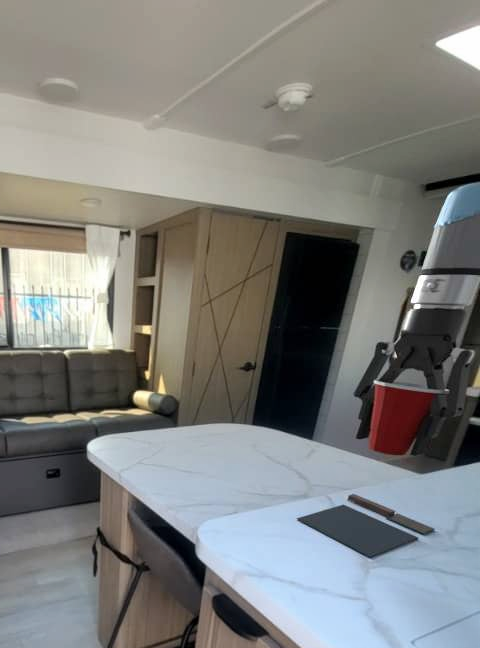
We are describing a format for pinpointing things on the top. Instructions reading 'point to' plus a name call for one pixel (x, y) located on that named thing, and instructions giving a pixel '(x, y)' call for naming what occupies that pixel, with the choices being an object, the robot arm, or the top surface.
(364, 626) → the top surface
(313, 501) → the top surface
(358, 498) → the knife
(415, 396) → the plastic cup
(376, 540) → the cloth mat
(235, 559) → the top surface
